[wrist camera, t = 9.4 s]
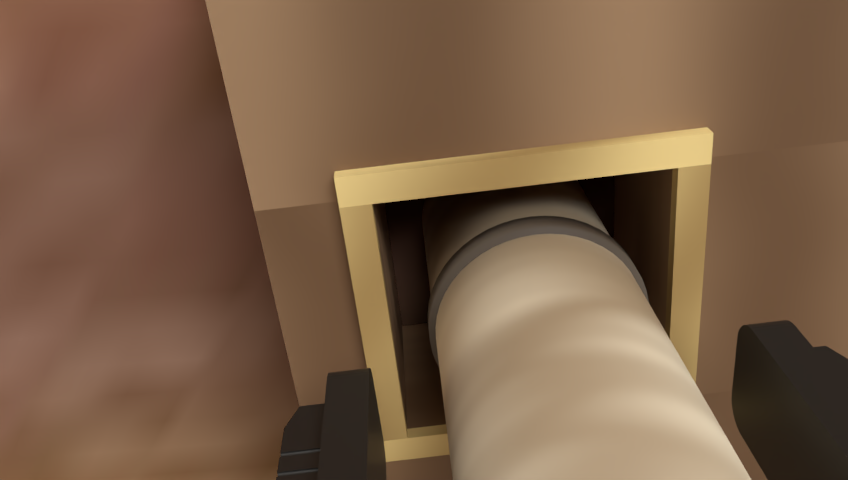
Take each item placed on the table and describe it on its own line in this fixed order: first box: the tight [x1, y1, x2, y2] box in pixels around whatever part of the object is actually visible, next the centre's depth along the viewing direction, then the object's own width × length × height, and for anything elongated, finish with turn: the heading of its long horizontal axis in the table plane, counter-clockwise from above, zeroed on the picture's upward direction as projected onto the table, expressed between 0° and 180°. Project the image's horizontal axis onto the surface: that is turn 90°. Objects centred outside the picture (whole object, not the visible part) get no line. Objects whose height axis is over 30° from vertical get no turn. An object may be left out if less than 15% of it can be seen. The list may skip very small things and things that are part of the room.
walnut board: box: [205, 0, 848, 480], centre depth 17 cm, size 20×16×4 cm
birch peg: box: [422, 180, 751, 480], centre depth 13 cm, size 4×4×14 cm
